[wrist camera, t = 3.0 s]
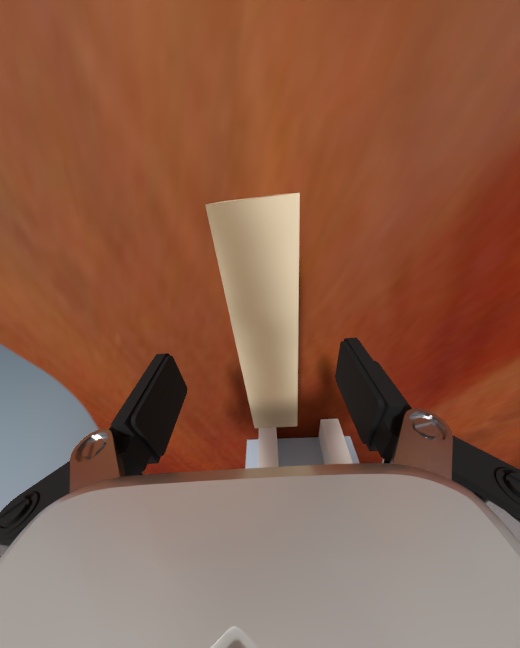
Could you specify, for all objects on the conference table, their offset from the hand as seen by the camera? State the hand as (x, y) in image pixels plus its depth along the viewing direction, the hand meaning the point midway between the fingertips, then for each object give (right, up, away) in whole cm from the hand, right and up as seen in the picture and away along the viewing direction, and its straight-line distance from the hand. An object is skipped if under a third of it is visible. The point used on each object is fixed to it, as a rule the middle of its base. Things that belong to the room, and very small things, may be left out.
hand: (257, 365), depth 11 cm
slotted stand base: (+6, -15, +19) cm, 25 cm away
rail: (+1, +3, +7) cm, 8 cm away
